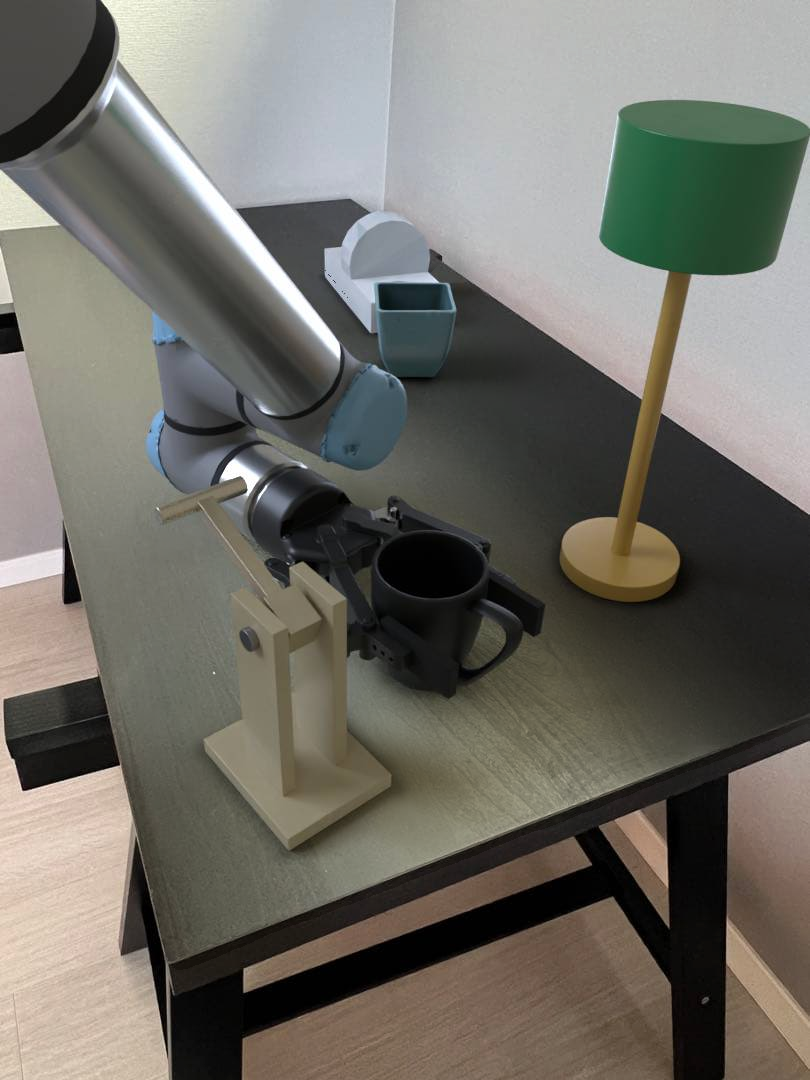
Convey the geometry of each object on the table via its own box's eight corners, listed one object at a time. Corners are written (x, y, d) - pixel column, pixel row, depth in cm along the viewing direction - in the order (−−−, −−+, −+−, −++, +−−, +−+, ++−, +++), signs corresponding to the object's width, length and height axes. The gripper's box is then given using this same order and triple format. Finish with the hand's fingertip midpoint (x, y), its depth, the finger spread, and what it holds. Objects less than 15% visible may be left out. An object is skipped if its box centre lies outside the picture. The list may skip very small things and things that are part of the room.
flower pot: (372, 352, 114) (373, 280, 109) (444, 353, 115) (449, 281, 110) (374, 385, 107) (376, 310, 102) (451, 386, 108) (457, 311, 102)
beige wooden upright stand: (204, 751, 63) (182, 578, 55) (303, 698, 68) (296, 530, 59) (288, 851, 57) (278, 675, 49) (391, 786, 62) (398, 613, 53)
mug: (464, 752, 64) (475, 649, 58) (346, 661, 71) (346, 560, 65) (540, 693, 69) (557, 592, 63) (423, 613, 76) (429, 515, 70)
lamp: (526, 580, 80) (592, 124, 58) (575, 511, 88) (648, 92, 67) (666, 628, 75) (792, 154, 54) (703, 550, 84) (825, 116, 63)
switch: (152, 521, 58) (153, 496, 56) (236, 489, 61) (240, 465, 59) (255, 670, 54) (261, 648, 52) (341, 628, 57) (349, 605, 55)
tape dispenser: (450, 323, 122) (456, 237, 115) (369, 333, 119) (370, 245, 112) (397, 269, 137) (399, 190, 130) (323, 276, 133) (322, 195, 127)
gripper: (378, 498, 85) (583, 622, 72) (180, 599, 72) (384, 770, 60) (380, 424, 80) (599, 543, 68) (168, 519, 68) (387, 686, 55)
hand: (498, 650), depth 64 cm, fingers closed on mug, 8 cm apart
